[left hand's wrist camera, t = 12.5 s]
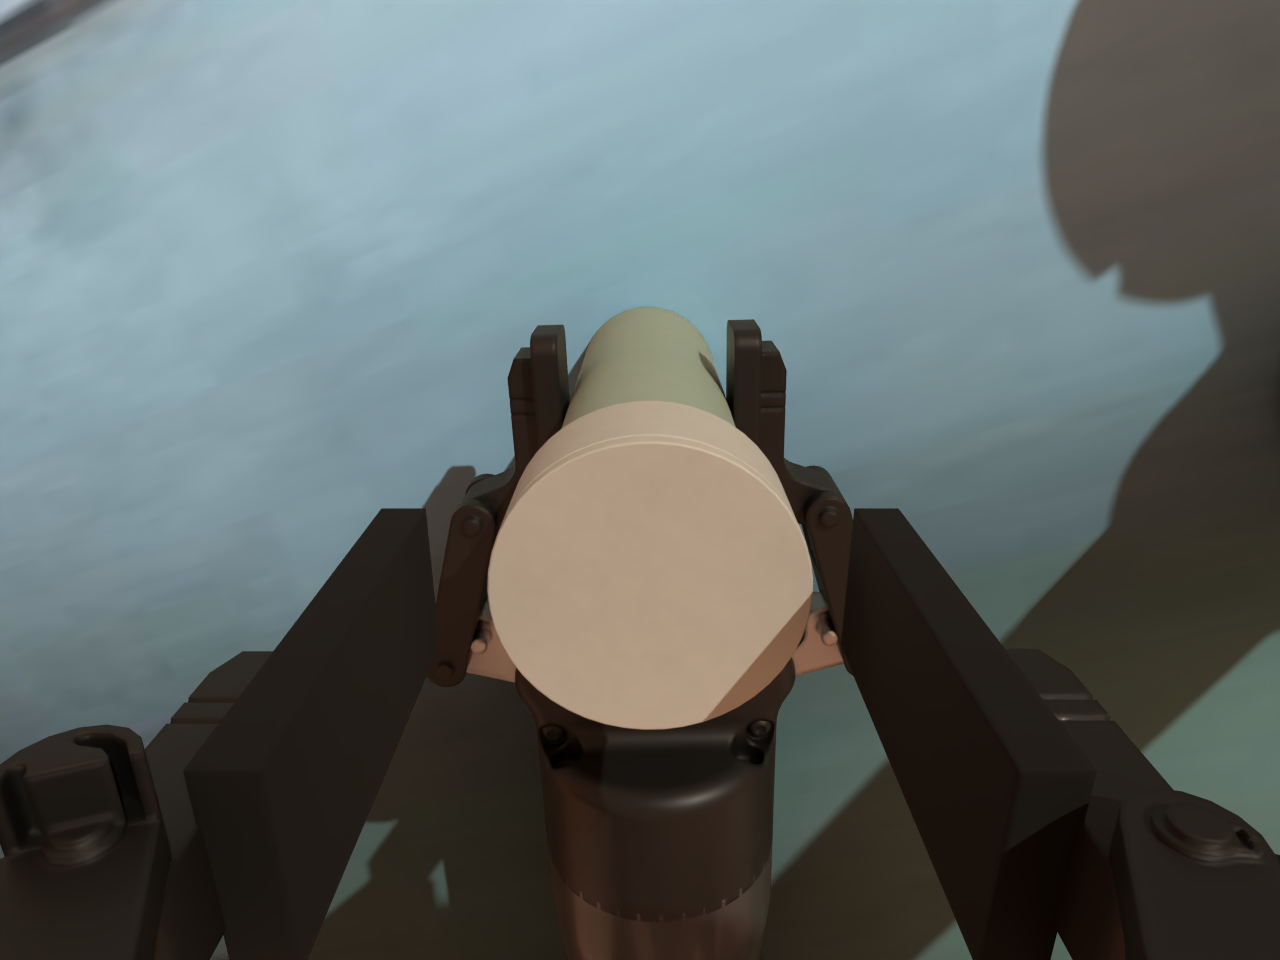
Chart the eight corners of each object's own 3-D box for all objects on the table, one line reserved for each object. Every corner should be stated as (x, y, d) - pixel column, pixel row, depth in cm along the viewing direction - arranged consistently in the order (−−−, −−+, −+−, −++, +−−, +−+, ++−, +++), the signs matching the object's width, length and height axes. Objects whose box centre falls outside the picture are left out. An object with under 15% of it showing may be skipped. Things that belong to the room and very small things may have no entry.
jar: (689, 448, 29) (730, 719, 15) (568, 413, 29) (492, 657, 15) (730, 329, 28) (820, 504, 14) (603, 289, 27) (556, 427, 13)
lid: (735, 683, 17) (748, 761, 15) (481, 616, 17) (455, 686, 14) (832, 447, 15) (864, 496, 13) (549, 363, 15) (532, 398, 12)
